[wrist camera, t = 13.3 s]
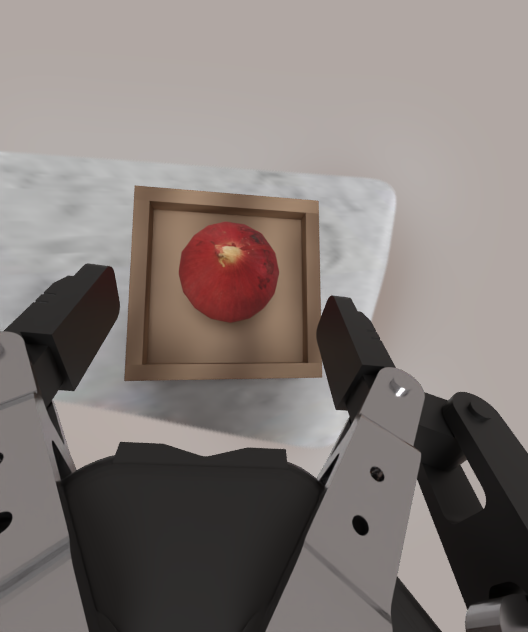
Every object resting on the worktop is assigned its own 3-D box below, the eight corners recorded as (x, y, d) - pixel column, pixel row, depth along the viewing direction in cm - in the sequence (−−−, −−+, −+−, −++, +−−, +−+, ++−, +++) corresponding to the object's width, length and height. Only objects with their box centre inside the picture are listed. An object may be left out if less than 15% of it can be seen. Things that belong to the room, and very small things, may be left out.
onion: (238, 233, 21) (247, 165, 13) (283, 295, 21) (320, 265, 13) (171, 276, 20) (137, 230, 12) (219, 341, 20) (216, 338, 12)
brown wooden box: (149, 371, 24) (124, 380, 17) (155, 224, 25) (134, 185, 19) (298, 369, 25) (322, 377, 19) (296, 233, 27) (318, 200, 21)
